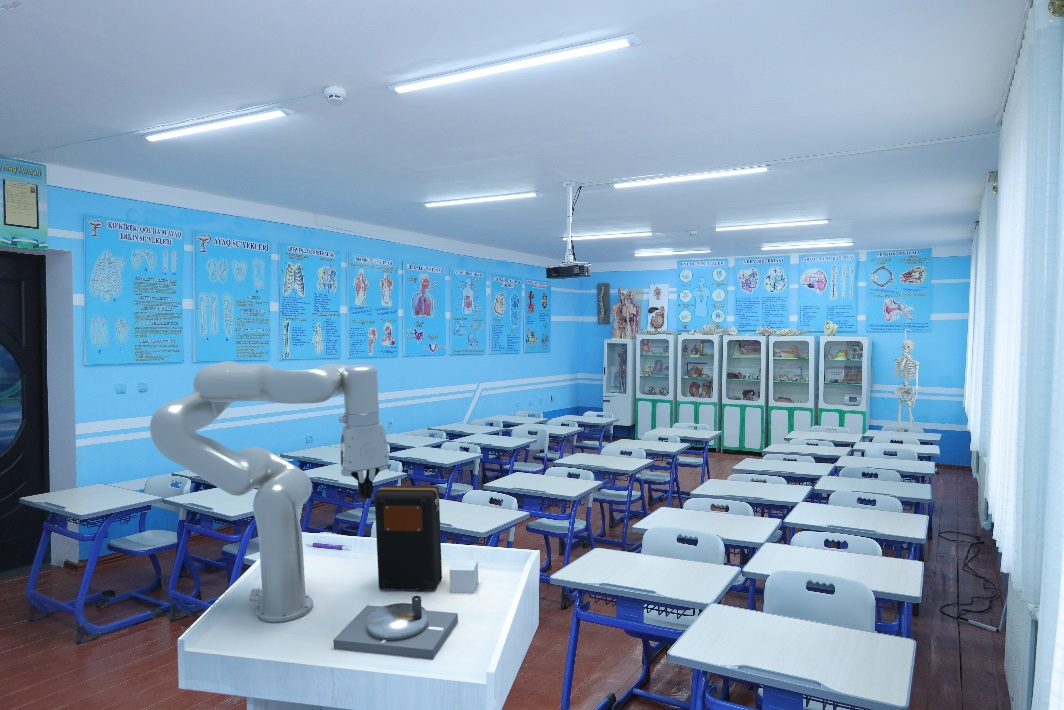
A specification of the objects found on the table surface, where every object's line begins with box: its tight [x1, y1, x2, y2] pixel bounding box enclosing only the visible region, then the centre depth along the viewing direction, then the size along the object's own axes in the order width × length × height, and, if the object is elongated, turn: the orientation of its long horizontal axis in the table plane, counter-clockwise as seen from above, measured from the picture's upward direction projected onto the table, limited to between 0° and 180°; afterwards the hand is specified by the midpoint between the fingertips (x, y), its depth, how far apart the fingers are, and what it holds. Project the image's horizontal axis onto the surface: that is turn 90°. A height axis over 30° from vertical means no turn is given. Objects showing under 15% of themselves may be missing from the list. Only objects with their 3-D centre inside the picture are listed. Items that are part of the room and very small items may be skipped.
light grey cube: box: [449, 559, 479, 594], centre depth 177 cm, size 6×6×6 cm
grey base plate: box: [332, 604, 459, 660], centre depth 155 cm, size 22×16×2 cm
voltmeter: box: [374, 485, 443, 591], centre depth 178 cm, size 16×9×25 cm, turn 84°
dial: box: [367, 595, 428, 640], centre depth 154 cm, size 13×13×6 cm
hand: (365, 497), depth 164 cm, fingers closed
